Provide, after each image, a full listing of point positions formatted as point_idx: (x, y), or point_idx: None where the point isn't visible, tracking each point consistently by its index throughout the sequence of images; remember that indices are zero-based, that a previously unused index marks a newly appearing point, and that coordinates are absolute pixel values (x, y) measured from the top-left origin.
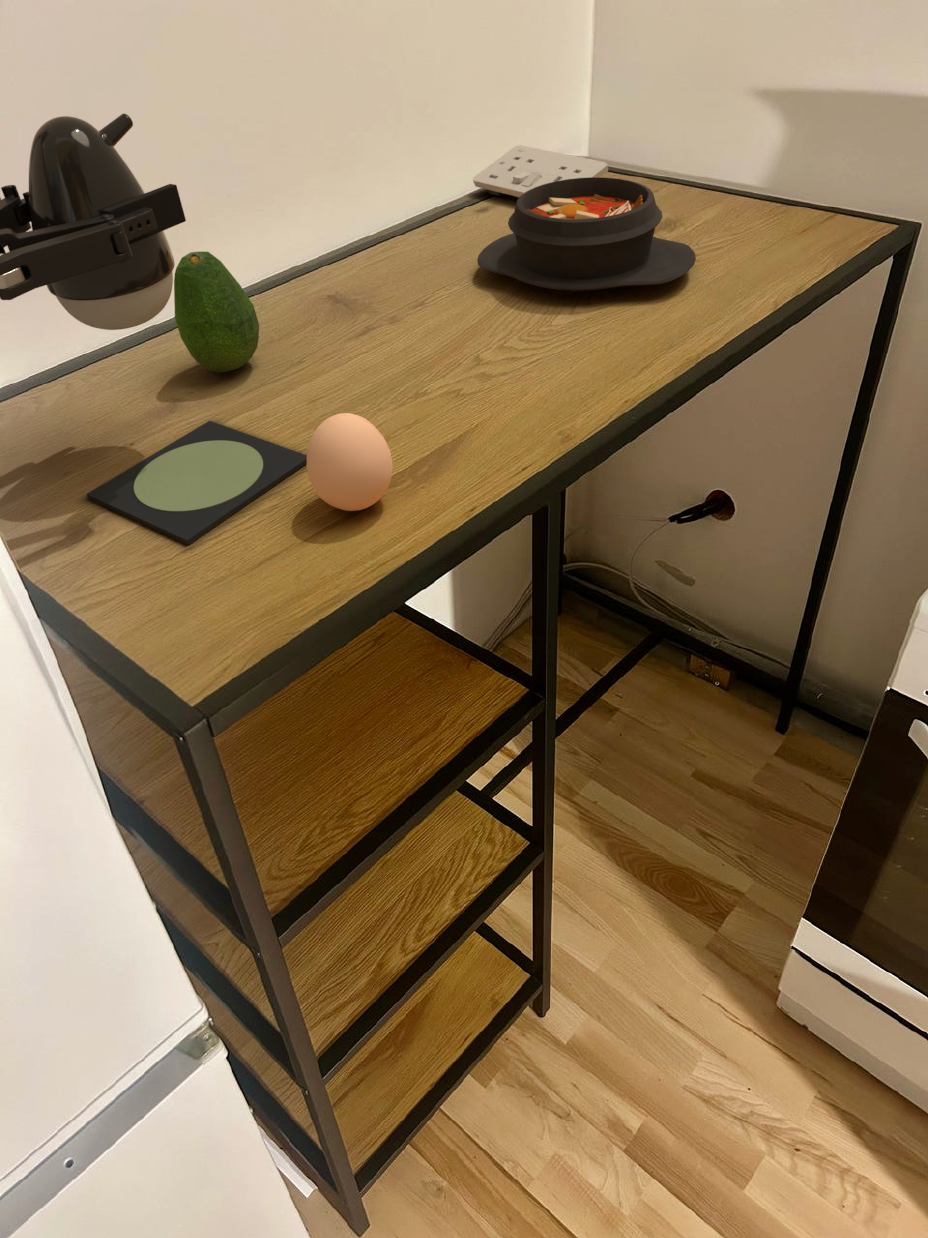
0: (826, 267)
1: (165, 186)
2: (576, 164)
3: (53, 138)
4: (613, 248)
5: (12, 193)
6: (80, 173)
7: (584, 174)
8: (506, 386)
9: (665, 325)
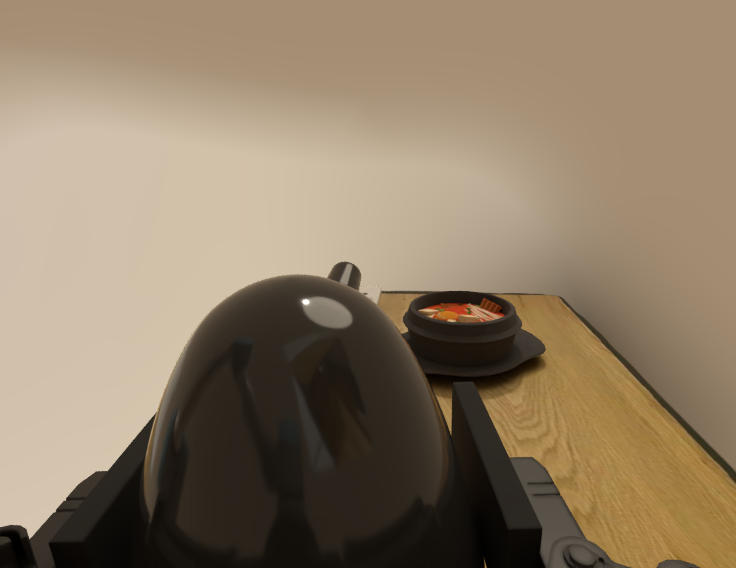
0: (576, 322)
1: (463, 391)
2: (359, 290)
3: (339, 344)
4: (513, 336)
5: (9, 563)
6: (425, 434)
7: (372, 295)
8: (601, 486)
9: (583, 382)
